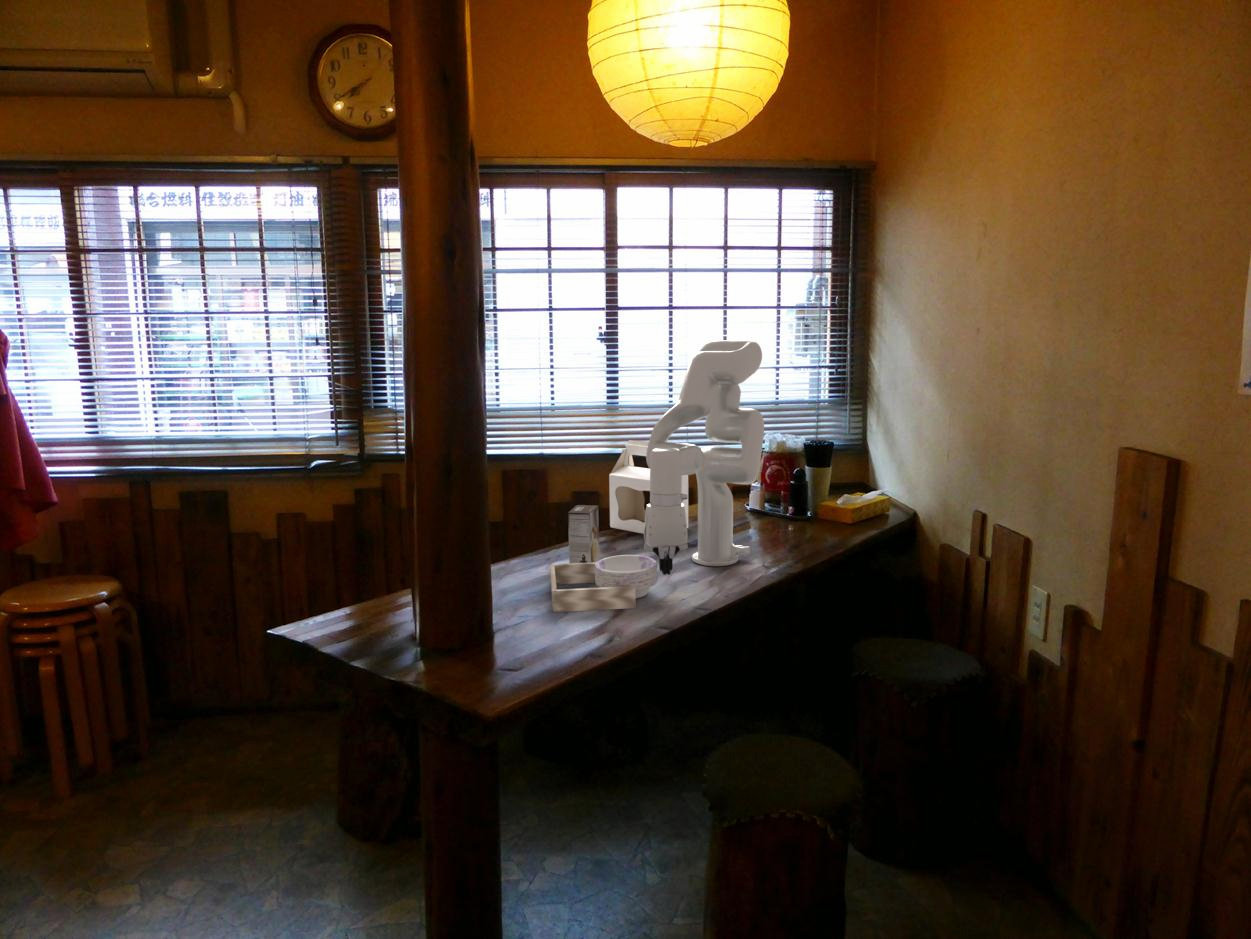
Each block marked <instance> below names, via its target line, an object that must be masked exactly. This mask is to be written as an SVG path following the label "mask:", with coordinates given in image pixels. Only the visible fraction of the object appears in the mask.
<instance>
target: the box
mask: <svg viewBox="0 0 1251 939" xmlns="http://www.w3.org/2000/svg"><path fill="white" fill-rule="evenodd" d="M595 564H596V562H593V563H570V564H569V563H558V564H557V563H553V564H552V563H551V564H550V565H549V566H550V569H549V570H550V589H551V590H550V591H551V603H552V613H565V612H582V611H584V612H585V611H587V612H588V611H603V610H605V611H606V610H620V609H622V610H623V609H624V610H625V609H636V604H637V603H636V599H635V586H622V587H602V588H600V587H587V588H586V587H585V588H584V587H582V588H563V589H557V585H564V584H565V585H570V584H571V585H573V584H589V583H591V584H592V583H593V584H594V583H595V567H594V566H595ZM595 584H596V583H595Z"/></svg>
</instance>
